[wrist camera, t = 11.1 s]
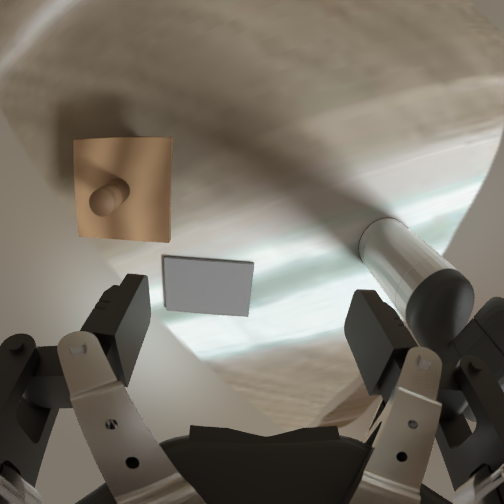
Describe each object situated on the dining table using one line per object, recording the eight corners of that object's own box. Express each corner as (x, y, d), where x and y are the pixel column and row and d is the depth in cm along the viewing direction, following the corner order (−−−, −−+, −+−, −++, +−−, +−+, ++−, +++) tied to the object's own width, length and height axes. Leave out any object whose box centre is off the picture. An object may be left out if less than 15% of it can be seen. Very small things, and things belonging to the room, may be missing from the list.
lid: (173, 137, 31) (159, 141, 25) (170, 239, 36) (159, 262, 30) (77, 139, 30) (50, 145, 24) (82, 233, 35) (60, 253, 29)
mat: (253, 262, 48) (254, 264, 47) (248, 314, 52) (248, 316, 52) (164, 256, 47) (163, 257, 46) (167, 308, 51) (166, 310, 51)
